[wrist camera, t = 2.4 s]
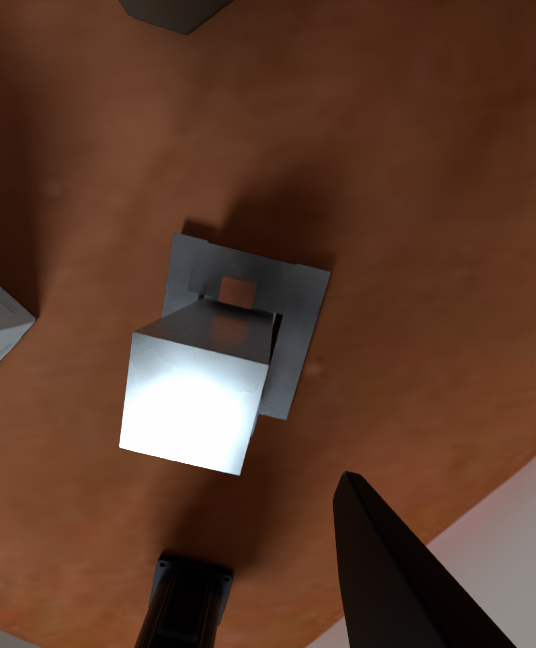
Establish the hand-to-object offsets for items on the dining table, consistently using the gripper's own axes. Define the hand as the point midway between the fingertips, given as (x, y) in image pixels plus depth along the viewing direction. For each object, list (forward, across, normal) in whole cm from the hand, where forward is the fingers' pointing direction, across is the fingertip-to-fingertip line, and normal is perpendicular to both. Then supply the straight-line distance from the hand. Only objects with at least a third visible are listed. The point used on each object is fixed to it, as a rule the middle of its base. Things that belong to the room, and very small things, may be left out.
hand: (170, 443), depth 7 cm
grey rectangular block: (+11, 0, 0) cm, 11 cm away
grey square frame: (+11, 0, 0) cm, 11 cm away
